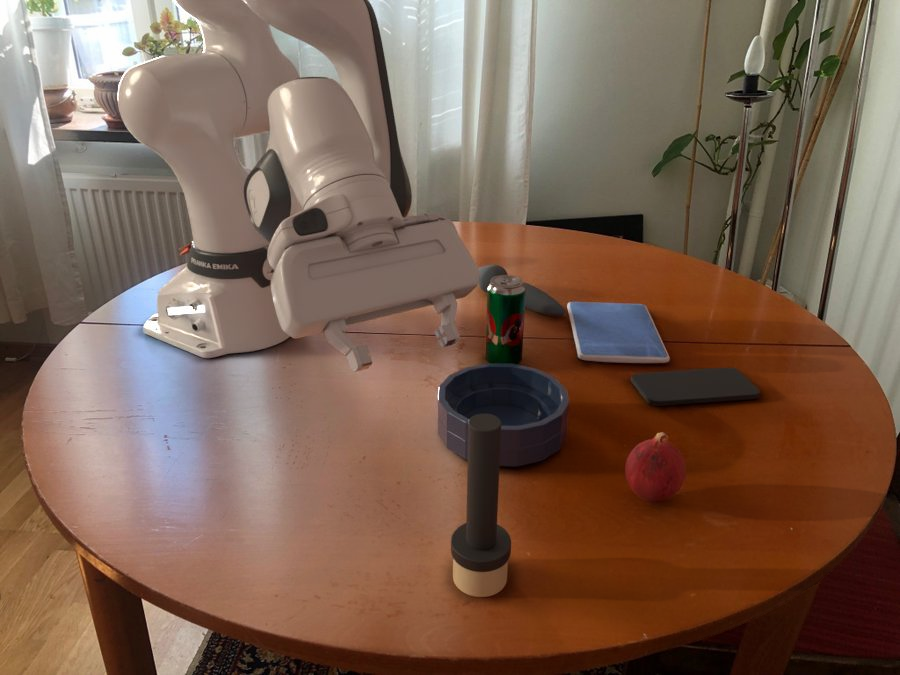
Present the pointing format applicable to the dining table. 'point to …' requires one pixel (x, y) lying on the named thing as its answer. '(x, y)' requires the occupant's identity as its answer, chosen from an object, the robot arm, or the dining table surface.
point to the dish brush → (481, 516)
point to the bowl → (505, 410)
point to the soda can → (505, 320)
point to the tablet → (616, 333)
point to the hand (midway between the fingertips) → (408, 355)
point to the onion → (655, 469)
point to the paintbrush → (534, 296)
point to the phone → (694, 386)
